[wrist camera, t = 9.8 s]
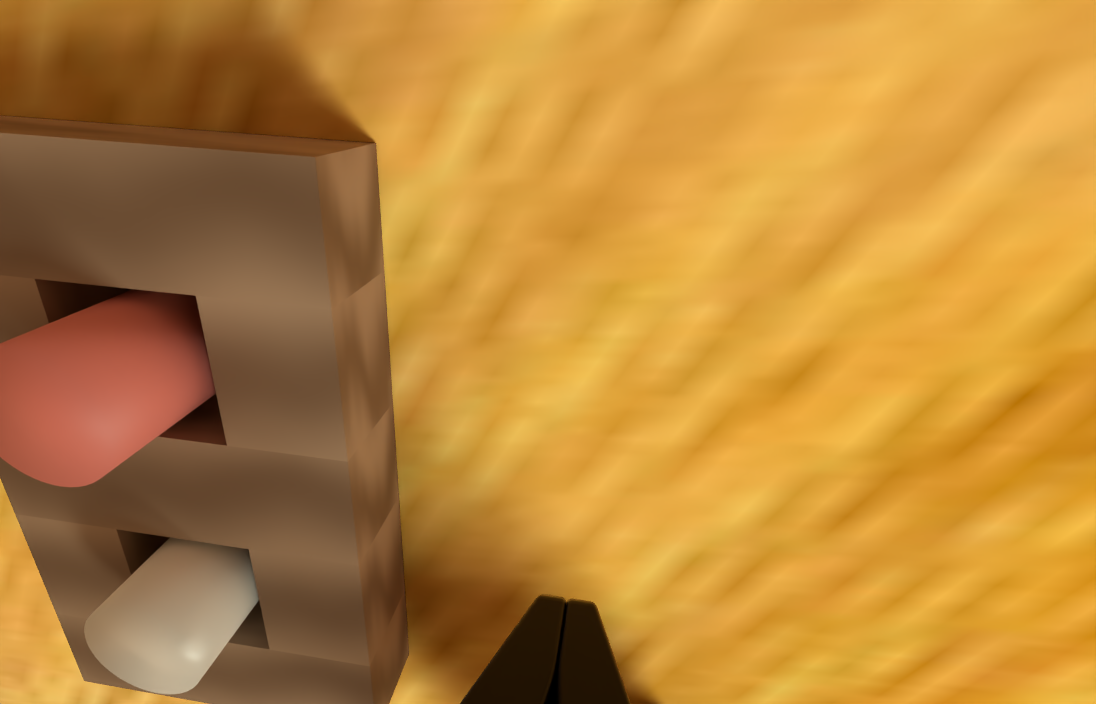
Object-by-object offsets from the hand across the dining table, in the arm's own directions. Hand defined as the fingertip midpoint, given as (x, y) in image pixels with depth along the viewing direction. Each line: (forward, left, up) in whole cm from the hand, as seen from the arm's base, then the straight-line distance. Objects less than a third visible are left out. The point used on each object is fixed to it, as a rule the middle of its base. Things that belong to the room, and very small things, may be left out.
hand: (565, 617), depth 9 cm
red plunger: (-2, +15, -11) cm, 19 cm away
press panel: (-7, +15, -13) cm, 21 cm away
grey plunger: (-12, +15, -12) cm, 23 cm away
